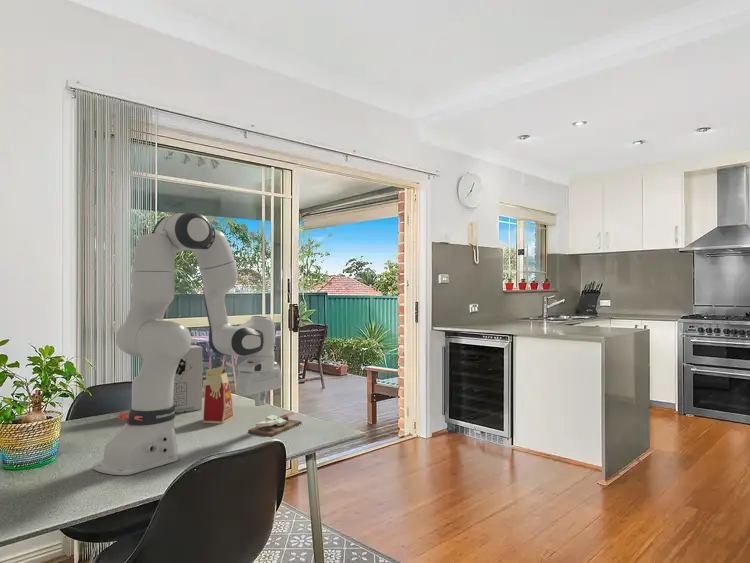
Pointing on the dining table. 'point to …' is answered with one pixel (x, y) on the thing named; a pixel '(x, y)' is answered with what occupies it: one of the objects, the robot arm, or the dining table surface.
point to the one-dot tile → (266, 423)
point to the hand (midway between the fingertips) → (259, 405)
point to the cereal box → (188, 381)
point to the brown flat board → (274, 428)
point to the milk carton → (217, 397)
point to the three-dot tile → (286, 415)
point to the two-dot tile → (273, 417)
